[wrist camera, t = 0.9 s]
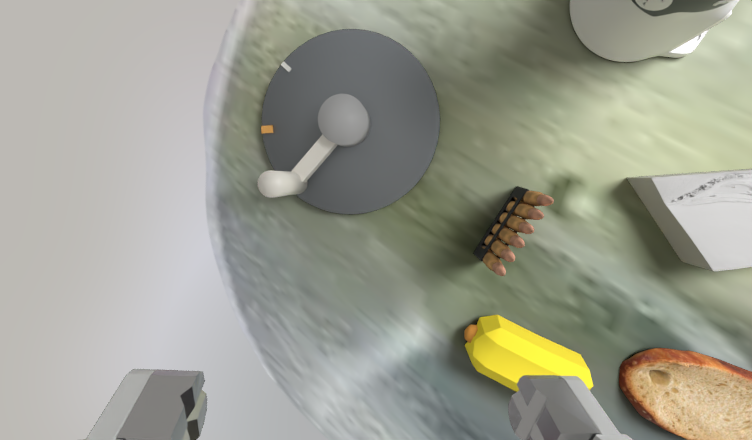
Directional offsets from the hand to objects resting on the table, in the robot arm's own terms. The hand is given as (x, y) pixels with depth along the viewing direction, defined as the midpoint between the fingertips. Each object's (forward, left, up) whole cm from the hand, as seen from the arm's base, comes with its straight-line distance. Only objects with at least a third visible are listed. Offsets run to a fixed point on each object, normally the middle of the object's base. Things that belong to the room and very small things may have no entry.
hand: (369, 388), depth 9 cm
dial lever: (+1, -14, -39) cm, 42 cm away
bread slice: (-10, +45, -42) cm, 62 cm away
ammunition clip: (-8, +10, -41) cm, 43 cm away
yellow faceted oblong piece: (+3, +25, -41) cm, 48 cm away
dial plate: (-4, -14, -41) cm, 44 cm away
